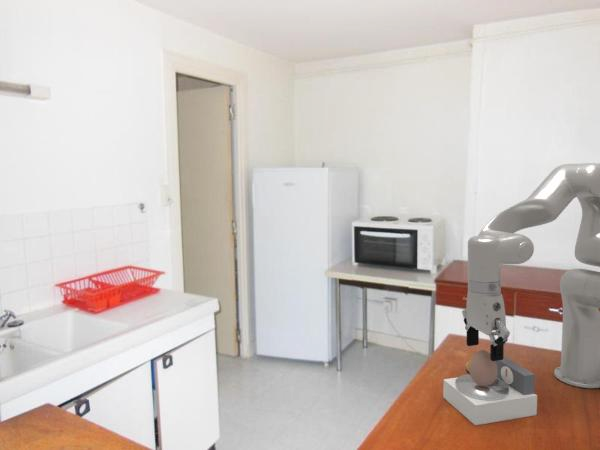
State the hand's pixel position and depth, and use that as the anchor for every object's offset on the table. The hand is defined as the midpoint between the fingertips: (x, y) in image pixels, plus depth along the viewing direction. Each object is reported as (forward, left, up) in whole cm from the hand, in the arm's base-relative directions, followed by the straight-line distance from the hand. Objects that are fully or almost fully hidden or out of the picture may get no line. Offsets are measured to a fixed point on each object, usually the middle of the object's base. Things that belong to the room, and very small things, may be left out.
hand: (484, 352), depth 114 cm
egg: (0, 0, -9) cm, 9 cm away
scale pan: (+1, 0, -9) cm, 9 cm away
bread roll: (-12, -17, -15) cm, 26 cm away
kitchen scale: (-1, 0, -14) cm, 14 cm away
